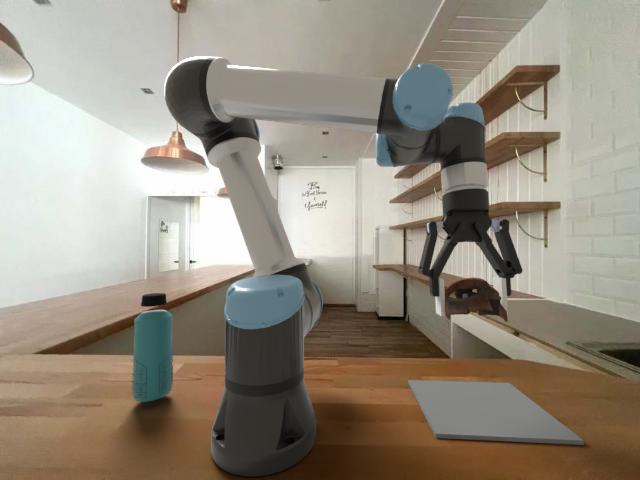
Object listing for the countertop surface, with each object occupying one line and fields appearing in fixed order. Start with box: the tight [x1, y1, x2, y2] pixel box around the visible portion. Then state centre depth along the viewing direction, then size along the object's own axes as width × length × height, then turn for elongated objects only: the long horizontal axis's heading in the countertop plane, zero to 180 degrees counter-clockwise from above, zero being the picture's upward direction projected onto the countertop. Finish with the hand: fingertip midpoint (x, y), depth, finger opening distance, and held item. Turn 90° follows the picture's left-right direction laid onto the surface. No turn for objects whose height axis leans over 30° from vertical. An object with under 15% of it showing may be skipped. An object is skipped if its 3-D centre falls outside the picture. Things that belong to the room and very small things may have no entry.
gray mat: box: [407, 379, 585, 446], centre depth 47 cm, size 20×17×1 cm
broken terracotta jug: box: [444, 277, 509, 323], centre depth 48 cm, size 12×10×8 cm
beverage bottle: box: [131, 292, 174, 403], centre depth 51 cm, size 6×7×20 cm
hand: (470, 314), depth 48 cm, fingers closed on broken terracotta jug, 10 cm apart
